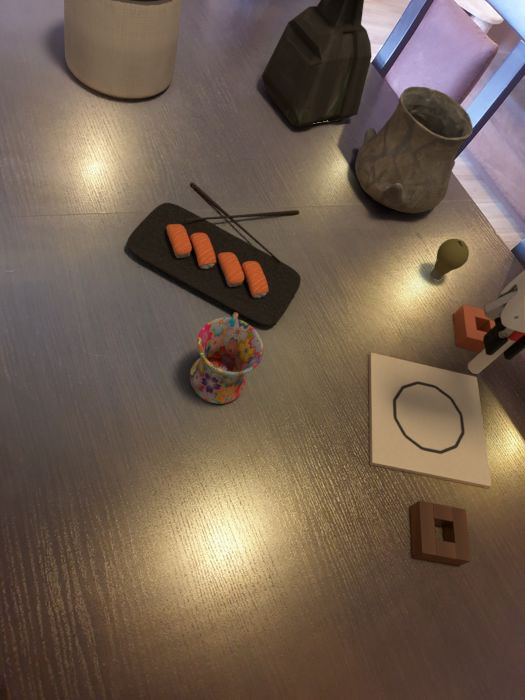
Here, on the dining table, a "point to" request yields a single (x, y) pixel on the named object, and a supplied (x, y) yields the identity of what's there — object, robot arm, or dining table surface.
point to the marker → (484, 360)
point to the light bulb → (449, 257)
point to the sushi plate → (217, 260)
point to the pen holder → (471, 328)
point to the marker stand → (454, 532)
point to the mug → (225, 358)
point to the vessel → (413, 151)
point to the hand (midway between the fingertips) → (496, 348)
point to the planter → (122, 45)
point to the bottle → (320, 63)
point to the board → (426, 421)
